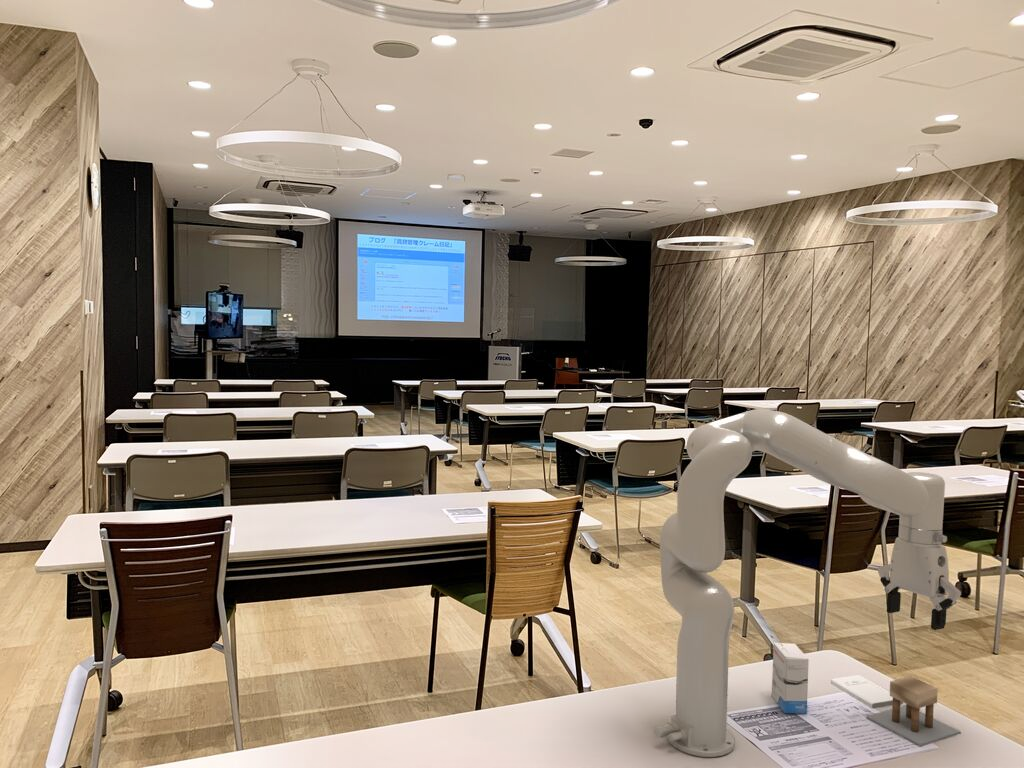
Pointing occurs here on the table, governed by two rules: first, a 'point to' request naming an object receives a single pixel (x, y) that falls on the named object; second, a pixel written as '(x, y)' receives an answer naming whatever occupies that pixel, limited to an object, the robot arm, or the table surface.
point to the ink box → (790, 678)
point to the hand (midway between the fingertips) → (914, 620)
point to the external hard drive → (864, 691)
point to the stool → (913, 700)
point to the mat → (904, 727)
